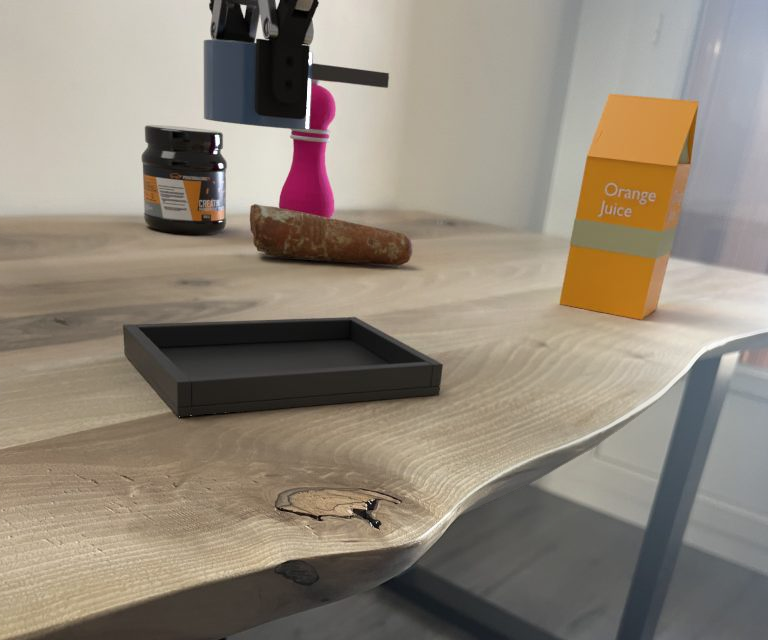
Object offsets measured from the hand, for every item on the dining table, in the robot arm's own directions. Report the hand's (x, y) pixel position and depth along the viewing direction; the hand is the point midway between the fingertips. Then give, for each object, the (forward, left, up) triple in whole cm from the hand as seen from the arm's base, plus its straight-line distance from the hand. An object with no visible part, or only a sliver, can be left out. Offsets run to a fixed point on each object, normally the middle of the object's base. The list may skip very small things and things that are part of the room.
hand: (256, 111), depth 53 cm
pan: (+3, 0, -1) cm, 3 cm away
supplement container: (+12, +55, -16) cm, 58 cm away
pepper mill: (+26, +48, -16) cm, 57 cm away
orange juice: (+44, +9, -16) cm, 47 cm away
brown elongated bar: (+23, +34, -16) cm, 44 cm away
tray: (0, -6, -16) cm, 17 cm away
